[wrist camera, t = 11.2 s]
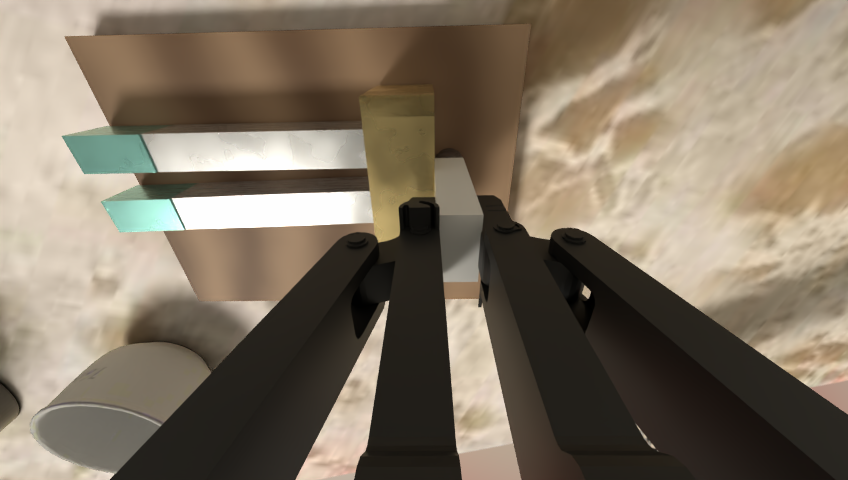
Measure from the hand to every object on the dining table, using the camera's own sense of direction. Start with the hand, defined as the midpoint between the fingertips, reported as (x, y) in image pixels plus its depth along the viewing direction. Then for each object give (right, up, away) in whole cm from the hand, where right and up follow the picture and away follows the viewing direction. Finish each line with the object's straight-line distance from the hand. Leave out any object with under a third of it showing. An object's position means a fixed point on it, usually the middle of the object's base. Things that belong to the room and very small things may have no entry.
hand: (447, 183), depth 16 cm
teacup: (-27, -17, +16) cm, 36 cm away
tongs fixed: (-9, +2, +3) cm, 10 cm away
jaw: (-11, 0, +4) cm, 11 cm away
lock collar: (-2, +2, +3) cm, 4 cm away
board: (-8, +1, +6) cm, 10 cm away
